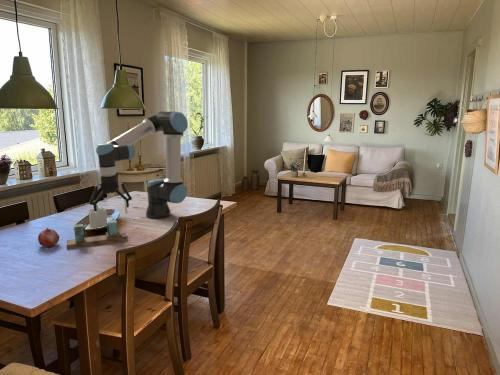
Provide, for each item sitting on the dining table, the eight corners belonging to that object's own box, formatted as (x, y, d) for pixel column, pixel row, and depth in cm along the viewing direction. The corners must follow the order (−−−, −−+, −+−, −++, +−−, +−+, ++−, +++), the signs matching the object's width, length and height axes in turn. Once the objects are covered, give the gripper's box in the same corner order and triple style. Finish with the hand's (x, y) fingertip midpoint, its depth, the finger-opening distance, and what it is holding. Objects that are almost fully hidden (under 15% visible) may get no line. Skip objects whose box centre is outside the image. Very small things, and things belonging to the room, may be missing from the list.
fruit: (43, 242, 187) (41, 223, 185) (63, 242, 188) (61, 223, 186) (34, 249, 178) (32, 229, 176) (54, 248, 179) (52, 229, 177)
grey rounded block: (101, 232, 203) (99, 212, 200) (87, 230, 205) (85, 211, 202) (113, 225, 214) (112, 206, 212) (99, 224, 216) (98, 205, 214)
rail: (125, 235, 197) (124, 218, 195) (127, 240, 191) (125, 221, 188) (67, 244, 185) (65, 225, 183) (67, 248, 179) (64, 229, 177)
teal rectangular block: (117, 234, 193) (115, 219, 192) (118, 236, 190) (117, 222, 188) (107, 235, 191) (106, 221, 189) (108, 238, 188) (107, 223, 186)
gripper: (133, 171, 192) (136, 209, 197) (80, 175, 182) (85, 216, 187) (135, 173, 185) (138, 213, 191) (81, 178, 175) (86, 221, 180)
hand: (112, 215), depth 189 cm, fingers open, 13 cm apart
